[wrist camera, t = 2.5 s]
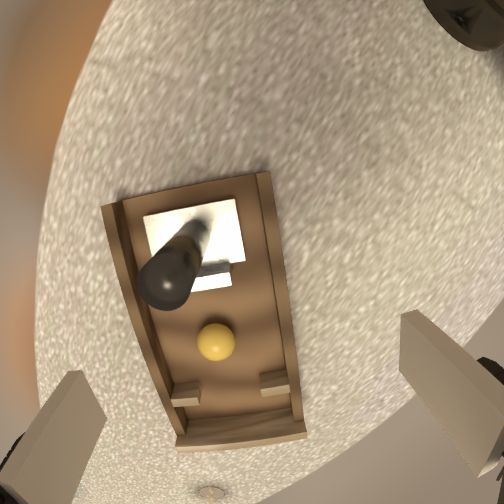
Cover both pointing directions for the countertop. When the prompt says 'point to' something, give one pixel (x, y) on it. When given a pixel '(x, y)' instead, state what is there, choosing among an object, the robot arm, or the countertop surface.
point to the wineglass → (211, 493)
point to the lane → (222, 312)
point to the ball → (216, 342)
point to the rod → (189, 252)
